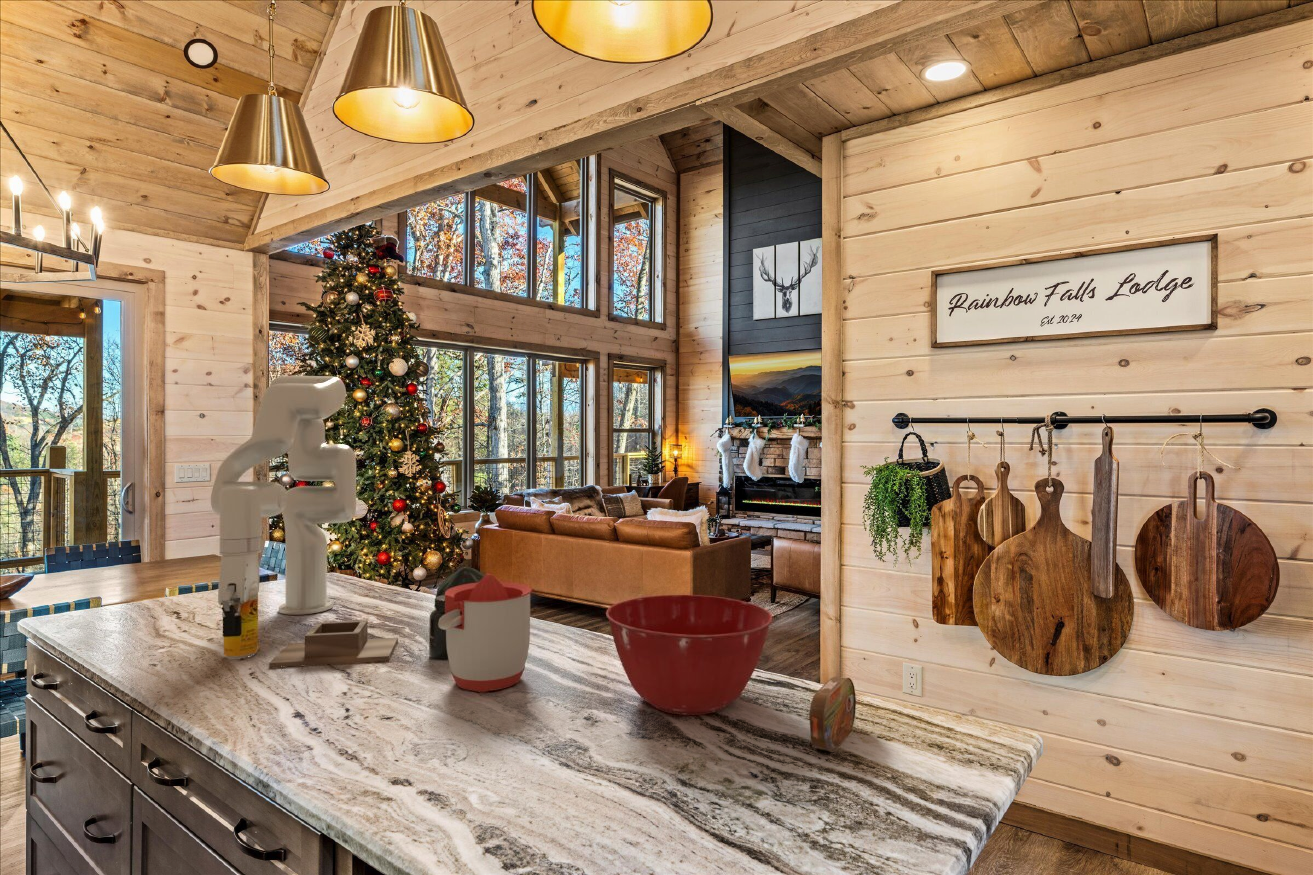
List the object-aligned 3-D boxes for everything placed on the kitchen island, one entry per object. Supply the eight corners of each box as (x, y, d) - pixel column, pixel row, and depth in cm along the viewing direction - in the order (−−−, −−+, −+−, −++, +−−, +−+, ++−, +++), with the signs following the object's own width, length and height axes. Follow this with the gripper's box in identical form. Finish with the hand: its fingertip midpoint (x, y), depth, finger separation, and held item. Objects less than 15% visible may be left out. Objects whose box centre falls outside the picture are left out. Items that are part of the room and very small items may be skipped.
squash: (479, 590, 183) (448, 551, 174) (520, 601, 174) (490, 561, 165) (444, 636, 174) (410, 598, 166) (485, 650, 166) (451, 610, 157)
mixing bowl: (684, 662, 143) (685, 585, 143) (805, 701, 123) (805, 612, 123) (572, 699, 124) (573, 609, 123) (694, 752, 103) (694, 646, 103)
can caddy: (288, 648, 151) (288, 622, 151) (398, 642, 156) (398, 616, 156) (268, 668, 139) (268, 639, 138) (388, 660, 143) (388, 633, 143)
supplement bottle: (421, 658, 145) (421, 599, 145) (443, 648, 151) (443, 592, 151) (449, 662, 143) (449, 602, 142) (470, 652, 149) (470, 595, 149)
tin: (826, 761, 101) (827, 702, 101) (805, 755, 102) (805, 697, 102) (857, 724, 114) (858, 671, 113) (838, 720, 115) (838, 668, 115)
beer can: (246, 660, 143) (246, 585, 143) (216, 660, 143) (216, 585, 143) (264, 651, 149) (264, 579, 149) (235, 650, 149) (235, 579, 149)
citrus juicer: (419, 684, 130) (419, 575, 130) (499, 662, 143) (499, 562, 143) (466, 707, 119) (466, 588, 119) (548, 681, 132) (549, 573, 132)
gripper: (236, 540, 154) (236, 619, 154) (203, 553, 137) (203, 642, 137) (274, 539, 155) (274, 617, 155) (246, 552, 138) (246, 640, 138)
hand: (240, 629), depth 146 cm, fingers open, 9 cm apart
